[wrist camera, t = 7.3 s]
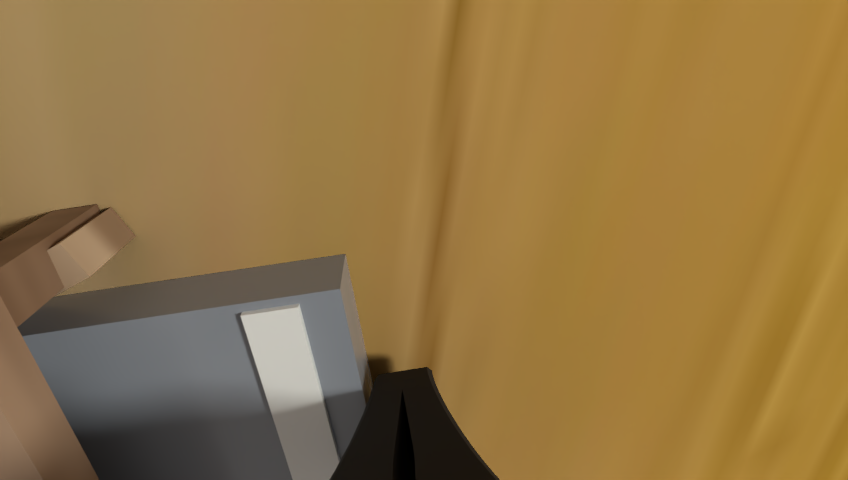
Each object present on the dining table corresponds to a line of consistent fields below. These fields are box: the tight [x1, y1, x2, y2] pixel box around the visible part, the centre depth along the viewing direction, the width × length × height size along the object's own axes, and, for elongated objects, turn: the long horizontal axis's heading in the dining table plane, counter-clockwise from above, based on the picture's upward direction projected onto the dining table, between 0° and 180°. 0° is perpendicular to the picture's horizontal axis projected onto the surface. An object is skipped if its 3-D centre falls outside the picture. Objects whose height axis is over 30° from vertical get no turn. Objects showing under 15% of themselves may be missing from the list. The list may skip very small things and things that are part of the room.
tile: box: [17, 254, 373, 480], centre depth 13 cm, size 11×7×2 cm, turn 97°
